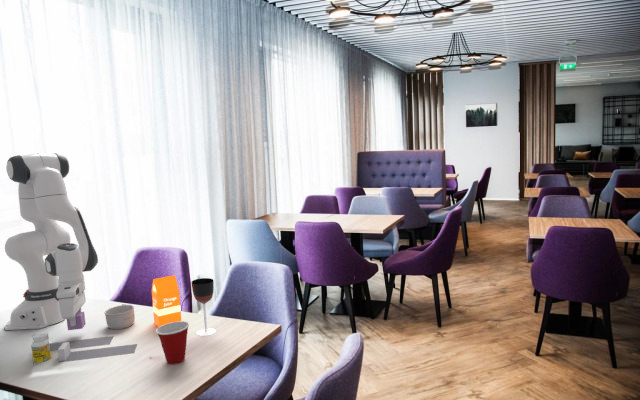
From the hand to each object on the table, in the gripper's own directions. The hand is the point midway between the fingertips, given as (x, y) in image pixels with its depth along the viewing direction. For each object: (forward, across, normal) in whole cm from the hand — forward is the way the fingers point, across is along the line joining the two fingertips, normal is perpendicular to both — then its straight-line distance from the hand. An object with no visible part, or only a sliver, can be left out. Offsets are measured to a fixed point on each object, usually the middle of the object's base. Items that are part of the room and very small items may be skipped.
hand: (76, 322), depth 186 cm
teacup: (+7, -8, +15) cm, 18 cm away
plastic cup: (+7, +32, +38) cm, 50 cm away
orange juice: (+7, -3, +33) cm, 34 cm away
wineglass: (+7, +9, +48) cm, 49 cm away
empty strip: (+7, +20, +12) cm, 24 cm away
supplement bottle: (+7, +19, -7) cm, 21 cm away
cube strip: (+7, +9, +2) cm, 11 cm away
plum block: (+2, 0, 0) cm, 2 cm away
